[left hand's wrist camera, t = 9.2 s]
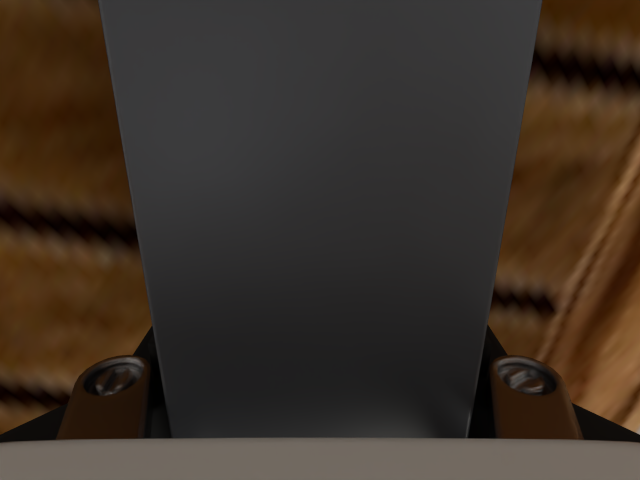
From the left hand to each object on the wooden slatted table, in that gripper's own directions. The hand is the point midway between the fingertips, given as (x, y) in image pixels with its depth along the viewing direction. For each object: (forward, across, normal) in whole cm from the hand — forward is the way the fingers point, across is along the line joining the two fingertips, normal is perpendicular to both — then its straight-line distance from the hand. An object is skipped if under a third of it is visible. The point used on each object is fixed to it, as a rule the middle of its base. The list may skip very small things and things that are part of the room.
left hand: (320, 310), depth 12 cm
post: (+4, 0, -26) cm, 26 cm away
